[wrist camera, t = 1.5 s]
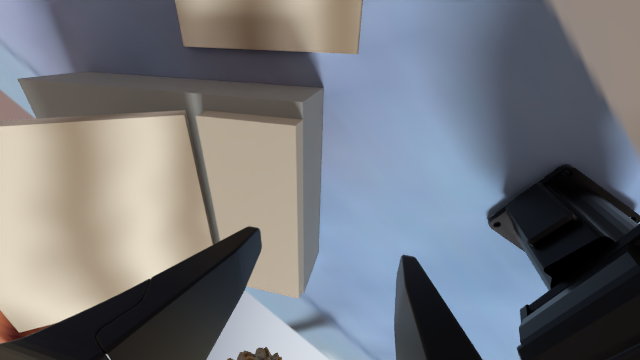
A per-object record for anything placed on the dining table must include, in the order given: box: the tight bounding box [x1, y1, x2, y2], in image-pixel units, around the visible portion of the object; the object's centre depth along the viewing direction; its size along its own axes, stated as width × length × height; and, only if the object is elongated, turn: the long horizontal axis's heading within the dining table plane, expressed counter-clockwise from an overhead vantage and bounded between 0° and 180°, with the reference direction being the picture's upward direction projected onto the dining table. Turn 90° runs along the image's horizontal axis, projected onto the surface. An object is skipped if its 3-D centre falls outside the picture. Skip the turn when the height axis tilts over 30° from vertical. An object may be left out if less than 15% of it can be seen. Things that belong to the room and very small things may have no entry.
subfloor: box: [18, 72, 324, 299], centre depth 23 cm, size 22×16×6 cm
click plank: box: [0, 110, 214, 332], centre depth 17 cm, size 13×14×1 cm
